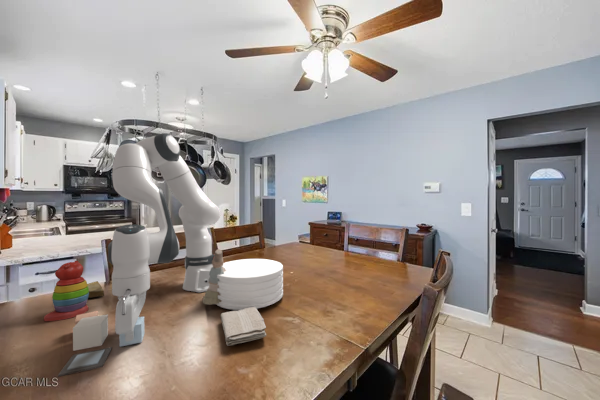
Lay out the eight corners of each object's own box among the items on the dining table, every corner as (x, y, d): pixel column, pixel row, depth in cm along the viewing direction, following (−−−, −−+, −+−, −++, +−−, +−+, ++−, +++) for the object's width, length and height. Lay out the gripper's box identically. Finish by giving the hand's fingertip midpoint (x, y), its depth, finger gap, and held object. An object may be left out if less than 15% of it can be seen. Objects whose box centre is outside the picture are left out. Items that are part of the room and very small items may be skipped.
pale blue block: (144, 333, 74) (144, 316, 74) (141, 342, 69) (141, 324, 69) (123, 337, 72) (123, 319, 72) (119, 346, 67) (119, 327, 67)
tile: (111, 348, 67) (111, 345, 67) (102, 366, 60) (102, 363, 60) (73, 356, 64) (73, 353, 64) (58, 376, 56) (58, 373, 56)
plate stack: (202, 293, 106) (202, 266, 106) (260, 279, 124) (260, 255, 124) (231, 317, 85) (231, 283, 84) (296, 296, 103) (296, 267, 103)
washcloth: (226, 348, 68) (226, 336, 68) (219, 319, 84) (219, 309, 84) (269, 338, 72) (269, 327, 72) (254, 312, 89) (254, 303, 89)
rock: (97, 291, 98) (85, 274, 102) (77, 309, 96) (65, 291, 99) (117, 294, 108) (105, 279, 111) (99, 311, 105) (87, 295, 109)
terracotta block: (98, 326, 79) (97, 310, 79) (98, 333, 75) (97, 316, 75) (76, 332, 76) (76, 315, 76) (75, 339, 72) (75, 321, 72)
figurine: (220, 306, 91) (220, 251, 91) (198, 305, 92) (198, 250, 92) (230, 296, 100) (230, 246, 100) (210, 295, 101) (210, 245, 101)
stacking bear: (67, 307, 93) (67, 258, 93) (97, 306, 94) (96, 258, 94) (39, 321, 82) (39, 266, 82) (73, 320, 83) (72, 265, 83)
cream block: (108, 334, 74) (107, 314, 74) (101, 345, 69) (101, 323, 69) (82, 339, 72) (81, 318, 72) (73, 351, 66) (72, 328, 66)
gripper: (138, 295, 62) (139, 351, 62) (149, 273, 81) (150, 316, 81) (106, 299, 60) (107, 358, 60) (126, 275, 78) (126, 320, 78)
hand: (132, 333), depth 71 cm, fingers closed on pale blue block, 5 cm apart
